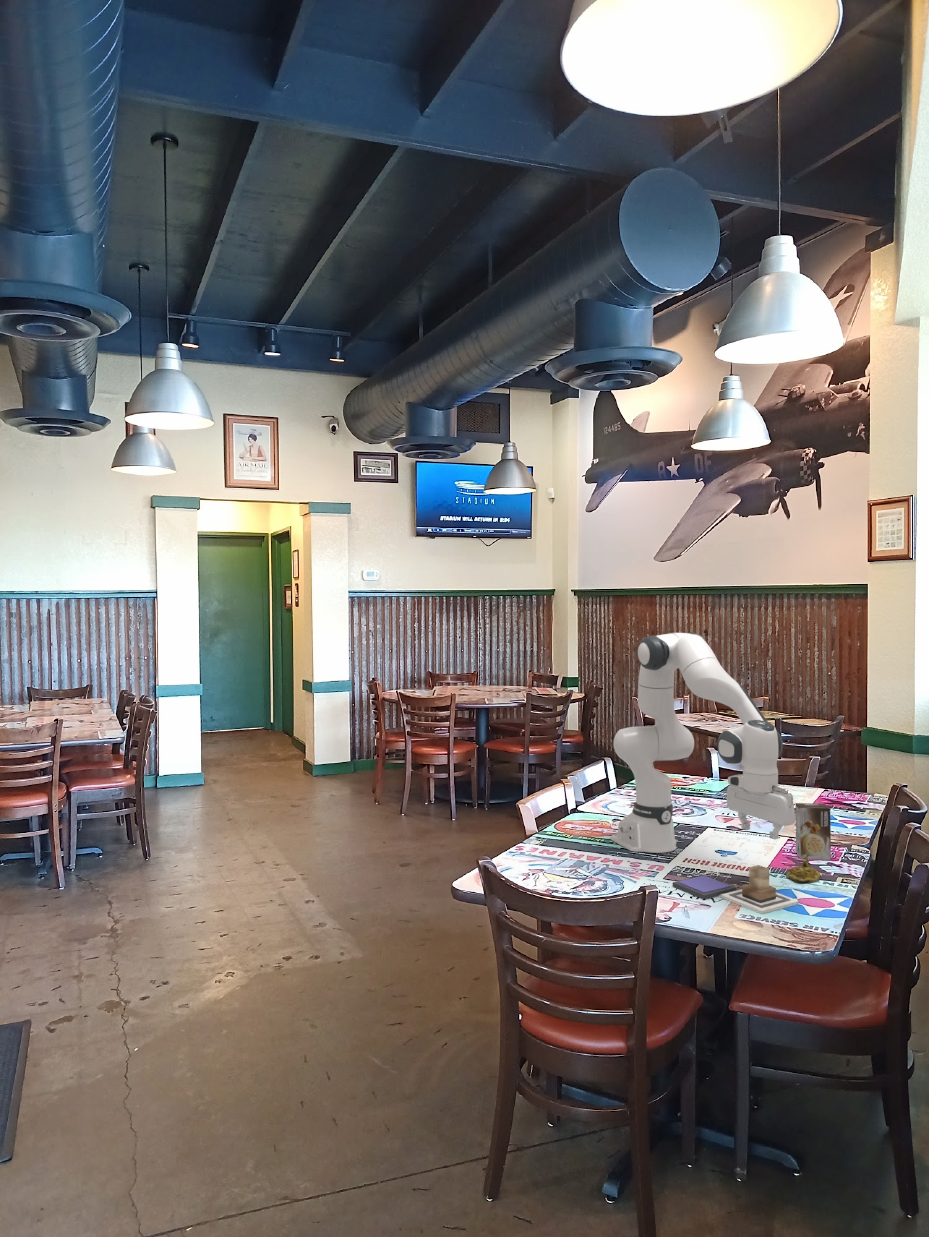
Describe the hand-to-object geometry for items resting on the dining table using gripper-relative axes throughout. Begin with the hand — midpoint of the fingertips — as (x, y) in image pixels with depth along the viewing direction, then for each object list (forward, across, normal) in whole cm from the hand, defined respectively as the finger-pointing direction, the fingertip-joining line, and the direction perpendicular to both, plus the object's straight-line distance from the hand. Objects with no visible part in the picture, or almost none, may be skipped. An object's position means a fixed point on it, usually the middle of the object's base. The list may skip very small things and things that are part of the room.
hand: (759, 834), depth 231 cm
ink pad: (+18, +14, +6) cm, 23 cm away
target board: (+18, 0, 0) cm, 18 cm away
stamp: (+17, 0, 0) cm, 17 cm away
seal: (+19, +7, -26) cm, 33 cm away
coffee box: (+19, +18, -44) cm, 51 cm away
